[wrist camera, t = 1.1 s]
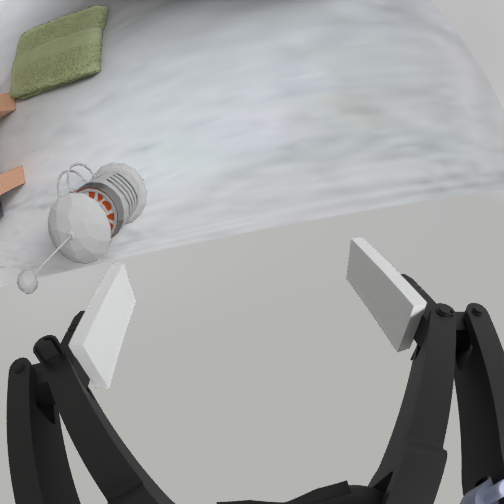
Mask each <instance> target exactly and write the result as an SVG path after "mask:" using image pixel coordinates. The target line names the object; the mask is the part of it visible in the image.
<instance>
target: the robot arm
mask: <svg viewBox="0 0 504 504" xmlns="http://www.w3.org/2000/svg"><path fill="white" fill-rule="evenodd" d="M347 280H348V281H349V283H350V284H351V285H352V287H353V288H354V289H355V291H356V292H357V294H358V295H359V297H360V298H361V299H362V301H363V302H364V304H365V305H366V307H367V308H368V309H369V311H370V312H371V314H372V315H373V317H374V318H375V320H376V321H377V323H378V324H379V326H380V327H381V328H382V330H383V331H384V333H385V334H386V336H387V337H388V339H389V340H390V342H391V344H392V345H393V346H394V348H395V350H396V351H397V352H399V351H402V350H405V349H409V348H410V346H411V344H412V342H413V339H414V340H415V341H416V343H417V346H416V349H415V351H414V353H413V355H412V358H411V360H413V362H412V367H411V371H410V375H409V379H408V383H407V387H406V391H405V395H404V398H403V401H402V405H401V408H400V412H399V415H398V418H397V421H396V424H395V427H394V430H393V433H392V436H391V438H390V441H389V444H388V446H387V449H386V452H385V454H384V457H383V459H382V461H381V464H380V466H379V468H378V470H377V472H376V473H375V475H374V476H373V478H372V479H371V482H370V483H369V485H368V487H367V486H361V485H348V482H347V481H344V482H340V483H337V484H333V485H330V486H326V487H322V488H318V489H315V490H313V491H311V492H309V493H307V494H305V495H302V496H300V497H298V498H296V499H293V500H290V501H288V502H285V503H279V502H264V501H253V500H245V501H234V502H233V501H232V502H217V504H433V503H434V500H435V497H436V494H437V492H438V488H439V485H440V482H441V479H442V475H443V472H444V468H445V464H446V460H447V451H446V450H444V449H443V444H444V439H445V434H446V429H447V424H448V418H449V412H450V406H451V398H452V390H453V381H454V380H455V386H456V393H457V401H458V409H459V419H460V431H461V453H462V488H463V495H464V497H463V499H462V501H461V503H460V504H504V351H503V348H502V346H501V343H500V341H499V338H498V335H497V333H496V331H495V328H494V326H493V323H492V321H491V318H490V316H489V314H488V312H487V310H486V309H485V308H484V307H483V306H482V305H480V304H476V303H471V304H468V306H467V308H466V310H465V312H455V311H454V310H453V308H451V307H450V306H448V305H446V304H442V303H438V304H436V303H435V302H434V301H433V299H432V298H431V297H430V296H429V295H428V294H427V293H426V292H425V291H424V290H422V288H421V287H420V286H419V285H417V283H416V282H415V281H414V280H413V279H412V278H410V277H409V276H407V275H405V274H401V275H400V274H399V273H398V272H397V271H396V270H395V269H394V268H393V267H392V266H391V265H390V264H389V263H388V262H387V261H386V260H385V259H384V258H383V257H382V256H381V255H380V254H379V253H378V252H377V251H376V250H375V249H374V248H373V247H372V246H371V245H370V244H369V243H368V242H367V241H366V240H365V239H364V238H352V239H351V245H350V253H349V262H348V270H347ZM135 303H136V301H135V298H134V295H133V292H132V288H131V285H130V282H129V279H128V276H127V272H126V269H125V265H124V263H116V264H112V265H111V266H110V268H109V270H108V272H107V273H106V275H105V277H104V278H103V280H102V282H101V283H100V285H99V287H98V289H97V291H96V292H95V294H94V296H93V298H92V299H91V301H90V303H89V305H88V307H87V309H86V311H80V312H79V313H78V314H77V315H76V316H75V317H74V319H73V321H72V323H71V326H69V328H68V332H66V334H65V336H64V338H63V340H62V342H61V344H60V343H59V341H58V339H57V338H56V337H55V336H53V335H47V336H44V337H42V338H41V339H39V340H38V341H37V342H36V343H35V345H34V348H33V352H34V354H35V355H36V357H37V358H38V360H39V361H40V363H38V364H34V365H31V363H30V362H29V360H28V359H27V358H19V359H17V360H15V361H14V362H13V363H12V365H11V366H10V369H9V377H8V391H7V444H8V457H9V466H10V474H11V481H12V486H13V492H14V497H15V503H16V504H80V501H79V498H78V495H77V492H76V488H75V485H74V482H73V478H72V475H71V471H70V467H69V463H68V459H67V454H66V451H65V445H64V440H63V435H62V429H61V423H60V417H59V413H60V415H61V417H62V420H63V422H64V424H65V426H66V429H67V431H68V433H69V435H70V437H71V439H72V441H73V443H74V445H75V447H76V449H77V451H78V453H79V455H80V457H81V458H82V460H83V462H84V464H85V466H86V467H87V469H88V471H89V472H90V474H91V476H92V477H93V479H94V481H95V482H96V484H97V485H98V487H99V489H100V490H101V491H102V493H103V495H104V496H105V498H106V499H107V501H108V504H175V503H174V502H172V500H170V499H169V497H167V496H166V494H165V493H164V492H163V491H162V490H161V489H160V488H159V487H158V485H157V484H156V483H155V482H154V481H153V480H152V479H151V477H150V476H149V475H148V474H147V473H146V471H145V470H144V469H143V468H142V466H141V465H140V464H139V463H138V461H137V460H136V459H135V458H134V456H133V455H132V454H131V452H130V451H129V449H128V448H127V447H126V445H125V444H124V443H123V441H122V440H121V438H120V437H119V436H118V434H117V432H116V431H115V430H114V428H113V426H112V425H111V423H110V422H109V420H108V419H107V417H106V416H105V414H104V413H103V411H102V409H101V407H100V406H99V404H98V403H97V401H96V399H95V397H94V395H93V394H92V392H91V390H90V389H89V388H88V384H89V381H91V382H92V384H93V385H94V386H95V388H108V389H109V388H110V384H111V381H112V377H113V373H114V370H115V366H116V363H117V359H118V355H119V352H120V349H121V346H122V343H123V339H124V336H125V333H126V330H127V327H128V324H129V321H130V318H131V315H132V312H133V309H134V306H135Z"/></svg>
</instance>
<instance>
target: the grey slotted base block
mask: <svg viewBox="0 0 504 504" xmlns="http://www.w3.org/2000/svg"><path fill="white" fill-rule="evenodd" d="M1 217H3V211H2V207H1V203H0V218H1Z"/></svg>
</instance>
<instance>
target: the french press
mask: <svg viewBox="0 0 504 504" xmlns="http://www.w3.org/2000/svg"><path fill="white" fill-rule="evenodd" d="M77 165H81V166H84V167H85V168H87V169H88V170H89V171H90V172H91V173H92V174H93V177H92V179H91V180H90V181H88V182H87V181H86V180H85V179H84V178H83V177H82V176H81V175H80V174H79V173H78V172H76V171H73V170H70V169H71V168H72V167H73V166H77ZM66 172H68V173H67V184H68V188H69V190H70V192H69V193H68V194H66V195H64V196H62V197H61V195H60V190H59V181H60V178H61V176H62V175H63V174H64V173H66ZM69 172H73V173H76V174H77V175H79V176H80V177H81V178H82V179H83V180H84V182H85V183H86V184H85V185H84V186H82V187H80V188H79V189H78V190H77V191H76V189H73V190H71V188H70V184H69ZM57 191H58V196H59V197H60V198H58V200H57V201H56V202H55V203H54V204H53V206H52V207H51V210H50V213H49V217H48V227H49V234H50V236H51V239H52V241H53V243H54V245H55V247H56V248H57V249H56V250H55V251H54V252H53V253H52V254H51V255H50V256H49V257H48V258H47V259H46V260H45V261H44V262H43V263H42V264H41V265H40V266H39V268H38V269H37V270H36V271H35V272H34V273H32V272H31V271H29V270H23V271H22V272H21V273H20V274H19V275H18V281H17V284H18V287H19V289H20V290H22V291H23V292H25V293H26V294H30V293H33V292H34V291H35V290H36V288H37V287H38V281H37V279H36V277H35V275H36V273H37V272H38V271H39V270H40V269H41V268H42V267H43V266H44V265H45V263H46V262H47V261H48V260H49V259H50V258H51V257H52V256H53V255H54V254H55V253H56V252H57V251H58V250H59V251H60V252H61V254H62V255H63V256H65V257H67V258H68V259H70V260H72V261H73V262H78V263H84V264H86V263H90V262H94V261H97V260H98V259H99V258H100V257H101V256H103V255H104V254H105V253H106V251H107V248H108V246H109V244H110V241H111V238H112V237H113V236H115V235H116V234H117V233H118V232H119V230H120V229H121V228H122V226H123V225H125V224H128V223H132V222H133V221H134V220H135V219H136V218H138V217H139V216H140V215H141V213H142V211H143V209H144V207H145V205H146V197H147V190H146V187H145V184H144V180H143V178H142V177H141V176H140V175H139V173H138V172H137V171H136V170H135V169H134V168H132V167H130V166H128V165H126V164H124V163H110V164H108V165H105V166H102V167H101V168H100V169H99V170H98V171H97V172H96V173H95V174H94V173H93V172H92V170H91V169H90V168H89V167H88V166H87V165H85V164H82V163H75V164H72V165H71V166H70V167H69V170H66V171H64V172H62V173H61V174H60V175H59V178H58V180H57ZM74 191H76V192H75V193H73V192H74Z"/></svg>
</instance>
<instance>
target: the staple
mask: <svg viewBox="0 0 504 504" xmlns="http://www.w3.org/2000/svg"><path fill="white" fill-rule="evenodd" d="M14 110H16V105H15V99H14V98H13V97H10V93H6V94H0V118H1V117H3V116H5V115H7V114H8V113H10V112H12V111H14ZM23 183H25V177H24V172H23V167H22V166H20V167H17V168H14V169H12V170H9V171H7V172H4V173H2V174H0V195H1V194H3V193H5V192H7V191H9V190H11V189H13V188H15V187H17V186H19V185H21V184H23Z"/></svg>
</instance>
